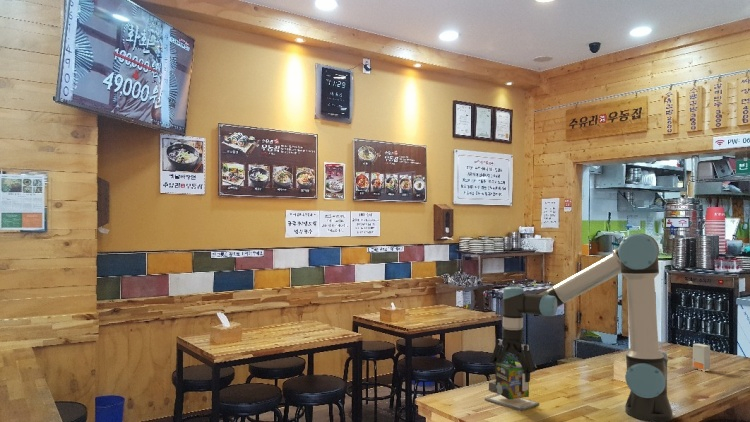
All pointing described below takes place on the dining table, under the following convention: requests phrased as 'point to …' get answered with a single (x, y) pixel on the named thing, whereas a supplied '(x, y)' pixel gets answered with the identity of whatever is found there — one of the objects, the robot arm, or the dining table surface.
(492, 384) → the button housing
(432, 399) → the dining table surface
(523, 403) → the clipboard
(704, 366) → the skincare box
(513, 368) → the chalk box
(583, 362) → the dining table surface
